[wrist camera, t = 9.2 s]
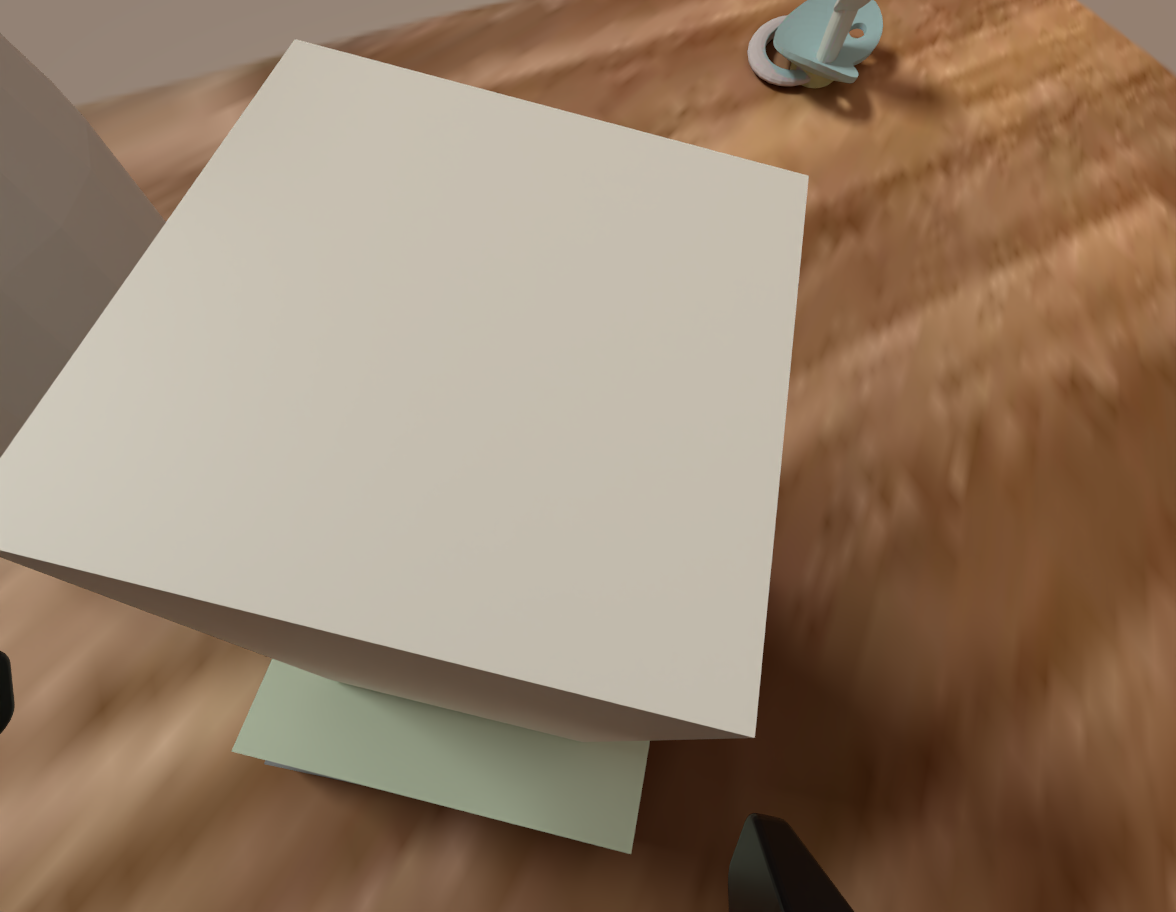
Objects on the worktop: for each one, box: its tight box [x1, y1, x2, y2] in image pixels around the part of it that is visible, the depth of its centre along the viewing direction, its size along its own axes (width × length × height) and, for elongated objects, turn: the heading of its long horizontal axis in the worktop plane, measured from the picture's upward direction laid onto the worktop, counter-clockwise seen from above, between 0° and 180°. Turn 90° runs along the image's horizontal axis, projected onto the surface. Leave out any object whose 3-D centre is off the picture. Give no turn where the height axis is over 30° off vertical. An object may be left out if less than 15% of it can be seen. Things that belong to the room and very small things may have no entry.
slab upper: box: [232, 659, 650, 854], centre depth 17 cm, size 9×9×2 cm
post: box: [0, 39, 809, 742], centre depth 11 cm, size 6×6×11 cm
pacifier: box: [748, 0, 883, 88], centre depth 31 cm, size 7×6×6 cm
